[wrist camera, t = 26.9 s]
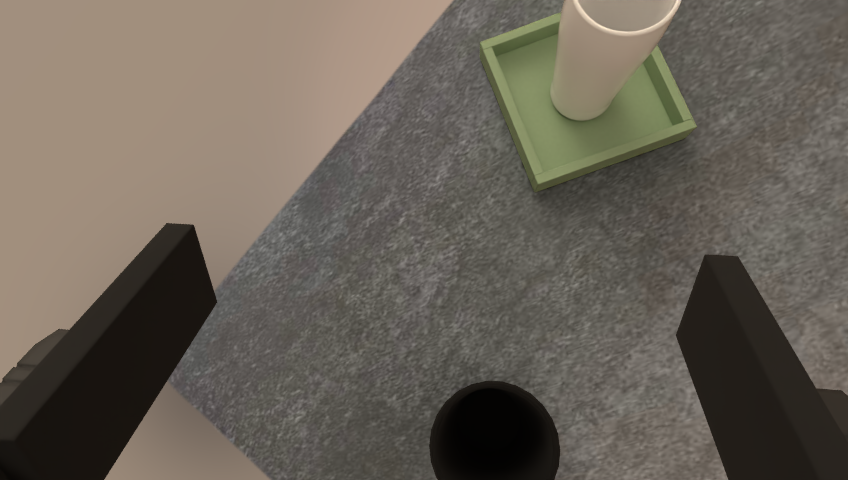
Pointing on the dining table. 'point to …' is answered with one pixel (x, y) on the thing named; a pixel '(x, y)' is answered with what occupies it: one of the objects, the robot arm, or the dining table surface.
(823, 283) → the dining table surface
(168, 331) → the robot arm
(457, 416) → the cup
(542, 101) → the green shallow square tray
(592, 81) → the drinking glass
